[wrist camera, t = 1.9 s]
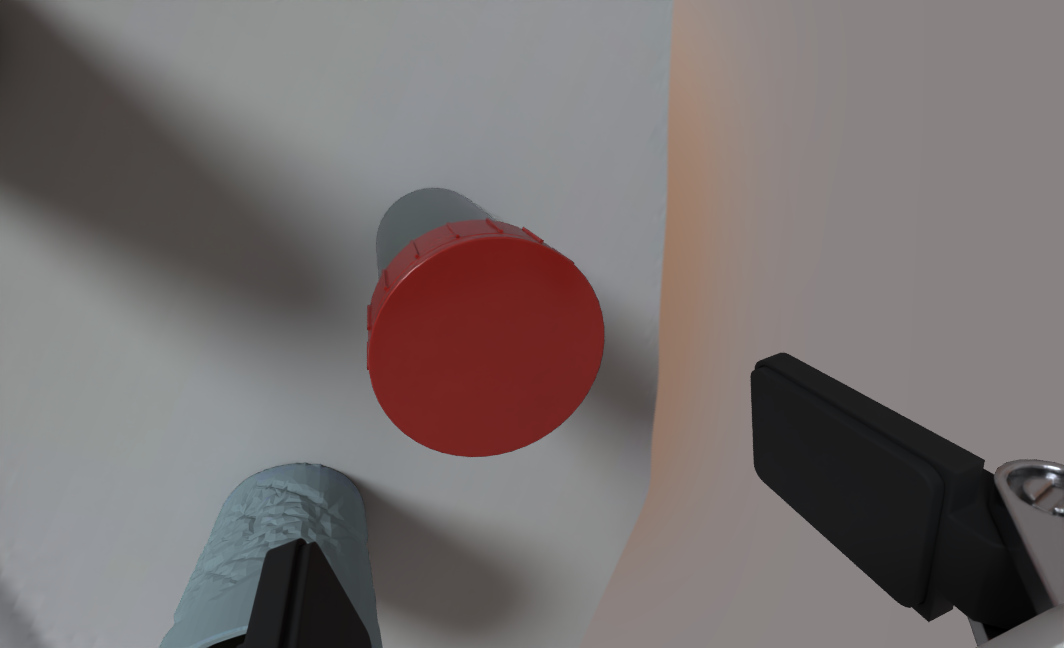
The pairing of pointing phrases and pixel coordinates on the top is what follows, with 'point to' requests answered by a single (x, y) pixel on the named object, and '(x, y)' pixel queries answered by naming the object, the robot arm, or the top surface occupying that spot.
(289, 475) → the embossed blue cup
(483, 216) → the jar
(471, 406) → the lid
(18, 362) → the top surface
